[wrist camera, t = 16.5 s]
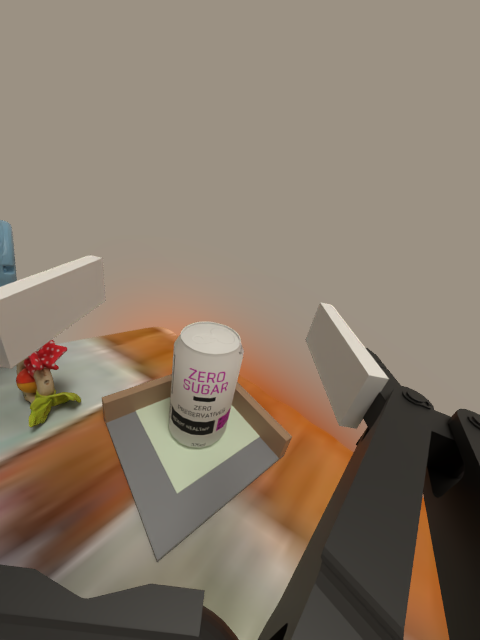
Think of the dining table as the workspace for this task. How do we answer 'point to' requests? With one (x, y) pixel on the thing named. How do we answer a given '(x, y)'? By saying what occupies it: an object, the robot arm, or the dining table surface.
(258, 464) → the corner arena
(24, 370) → the bird rattle
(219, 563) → the dining table surface
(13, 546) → the dining table surface
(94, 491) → the dining table surface
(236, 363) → the supplement can
